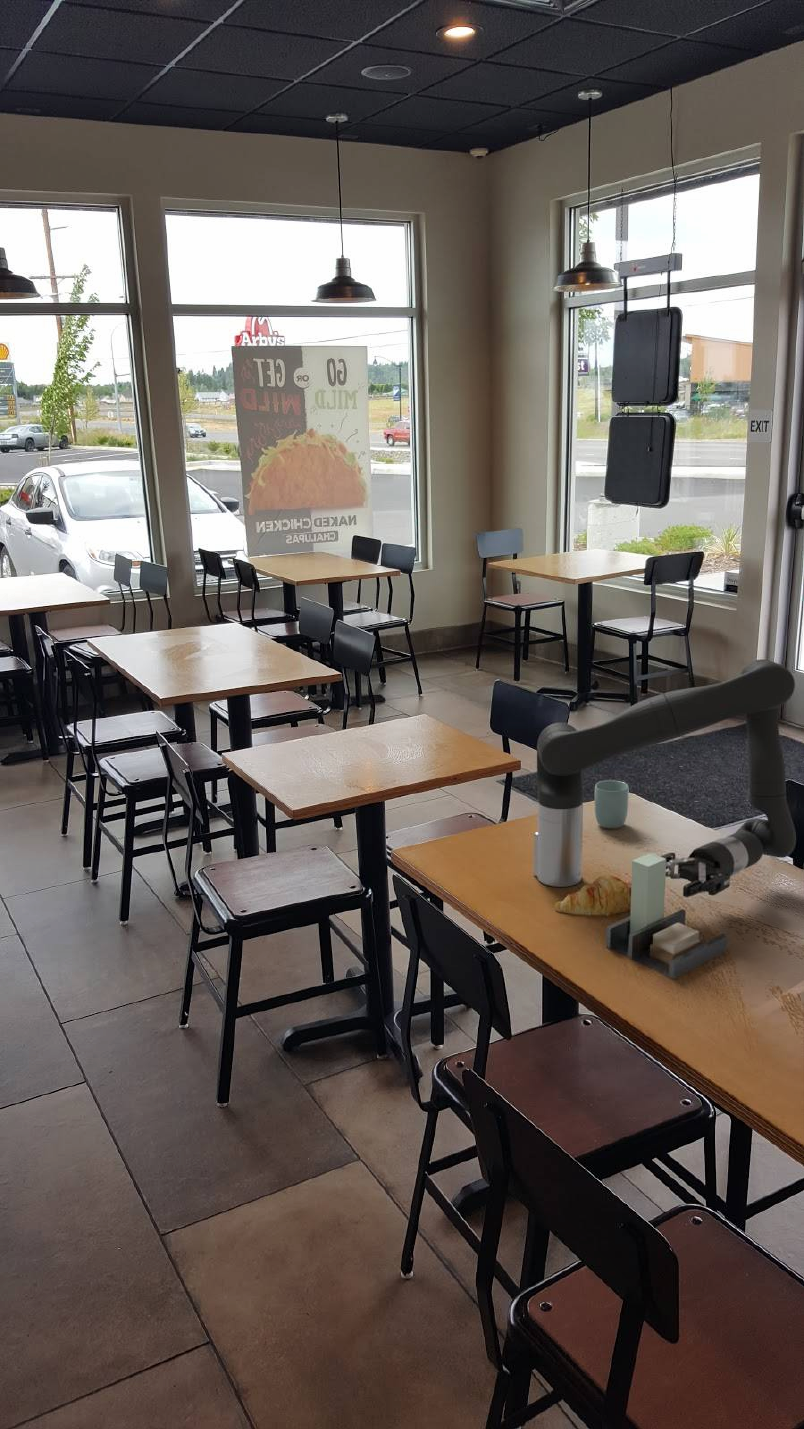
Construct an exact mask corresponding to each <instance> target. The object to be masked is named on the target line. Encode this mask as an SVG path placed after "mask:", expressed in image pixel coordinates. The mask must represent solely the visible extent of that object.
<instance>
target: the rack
mask: <svg viewBox="0 0 804 1429" xmlns="http://www.w3.org/2000/svg"><path fill="white" fill-rule="evenodd" d="M686 913H687V912H686V910H685V909H680V910H678V911H676V912H673V913H672V914H670V915H667V916H664V918H663V919H661V920H659V921H657V922H654V923H652V924H650V925H648V926H646V927H644V928H642V929H640V930H638V931H636V932H634V933H632V934H630V915H629V916H627V917H625V918H623V919H621V920H617V921H616V922H614V923H612V924H610V925H607V926H606V928H605V929H606V930H605V933H606V934H605V948H607V949H609V950H611V951H614V952H615V953H617V954H619V955H622V956H623V957H625V958H628V959H630V960H632V961H635V962H637V964H641V965H642V966H644V967H646V968H649V969H651V970H653V971H654V972H657V973H659V974H662V975H663V976H665V977H667V978H670V979H671V980H676V979H677V978H679V977H681V976H684V975H685V974H687V973H689V972H690V971H692V970H694V969H697V968H699V966H702V965H704V964H705V963H707V962H709V961H711V960H713V959H715V958H717V957H718V956H720V955H722V954H724V953H726V952H727V950H728V935H726V934H724V933H722V934H720V935H717V936H716V937H714V938H712V939H710V940H708V941H705V940H702V939H700V938H699V940H700V941H701V945H700V946H698V947H697V948H695V949H693V950H691V951H689V952H687V953H685V954H683V955H681V956H679V957H677V958H675V959H673V960H672V961H670V964H667V963H665V962H663V961H661V960H659V959H657V958H655V957H652V956H650V945H652V944H653V935H654V934H656V933H658V932H660V931H662V930H664V929H666V928H668V927H670V926H672V925H674V924H676V923H681V924H683V925H685V926H686V916H687V915H686Z"/></svg>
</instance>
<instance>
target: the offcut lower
mask: <svg viewBox="0 0 804 1429" xmlns="http://www.w3.org/2000/svg"><path fill="white" fill-rule="evenodd" d="M700 940H701V939H700ZM700 940H699V942H697V943H695V944H693V945H691V946H689V947H687V948H685V949H683V950H681V951H679V952H677V953H675V954H672V953H670V952H668V951H666V950H663V949H661V948H659V947H657V946H655V945H653V944H652V945H650V956H652V957H655V958H657V959H659V960H661V961H663V962H665V963H667V964H670V961H672V960H673V959H675V958H677V957H679V956H681V955H683V954H685V953H687V952H689V951H691V950H693V949H695V948H697V947H698V946H700V945H701V941H700Z"/></svg>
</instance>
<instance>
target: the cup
mask: <svg viewBox="0 0 804 1429" xmlns="http://www.w3.org/2000/svg"><path fill="white" fill-rule="evenodd" d="M629 790H630V789H629V784H627V783H626V782H624V781H621V780H613V779H612V780H611V779H608V780H600V781H598V782H596V783H595V786H594V814H595V820H596V822H597V823H598V825H599V826H600V827H602V828H604V829H609V830H610V829H619V828H621V827H622V826H623V825H625V823H626V820H627V818H628V812H629V795H630V794H629V793H630V791H629Z"/></svg>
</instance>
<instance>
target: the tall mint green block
mask: <svg viewBox="0 0 804 1429" xmlns="http://www.w3.org/2000/svg"><path fill="white" fill-rule="evenodd" d="M660 856H661V855H660ZM660 856H659V855H657V854H655V853H651V852H649V853H647V854H645V855H642V856H640V857H638V858H634V859H633V860H632V861H631V862H632V865H631V883H632V885H631V910H630V915H629V916H630V934H632V933H634V932H636V931H638V930H640V929H642V928H644V927H646V926H648V925H650V924H652V923H654V922H657V921H659V920H661V919H663V918H665V914H664V913H665V898H666V897H665V895H666V877H665V876H666V872H667V871H666V870H667V869H666V859H665V858H662V857H660Z"/></svg>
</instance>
